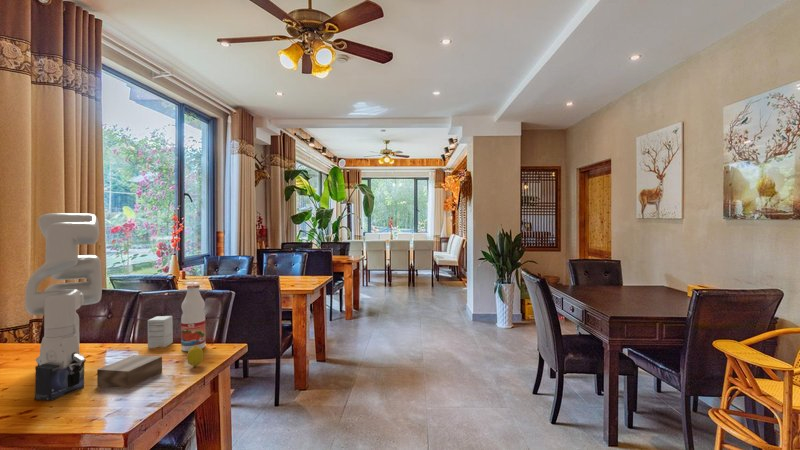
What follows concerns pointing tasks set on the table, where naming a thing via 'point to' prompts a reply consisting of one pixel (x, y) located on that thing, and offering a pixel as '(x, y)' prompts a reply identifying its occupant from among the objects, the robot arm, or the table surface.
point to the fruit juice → (193, 319)
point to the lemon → (195, 356)
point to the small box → (54, 382)
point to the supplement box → (160, 331)
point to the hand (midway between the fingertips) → (60, 384)
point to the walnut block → (129, 371)
